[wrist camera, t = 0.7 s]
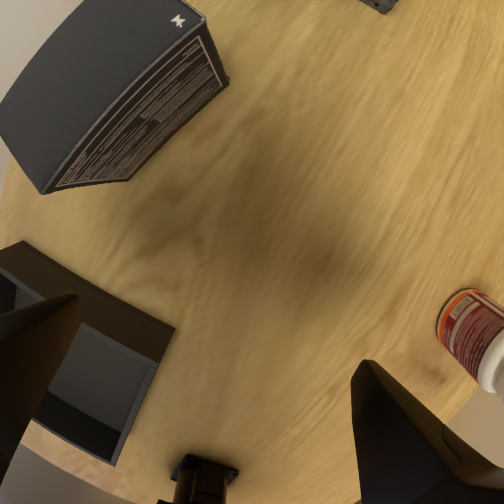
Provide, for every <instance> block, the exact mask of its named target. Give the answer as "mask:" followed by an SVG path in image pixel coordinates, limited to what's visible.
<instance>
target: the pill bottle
mask: <svg viewBox="0 0 504 504" xmlns="http://www.w3.org/2000/svg"><path fill="white" fill-rule="evenodd" d="M437 333H438V338H439V340H440V342H441V343H442V344H443V346H444V347H445V348H446V349H447V350H448V351H449V352H450V353H451V354H452V356H453V357H454V358H455V359H456V360H457V361H458V362H459V363H460V364H461V365H462V367H463V368H464V369H465V370H466V371H467V372H468V373H469V374H470V375H471V377H473V379H474V380H475V381H476V382H477V383H478V384H479V385H480V386H481V387H482V388H483V389H484V390H485V391H487V392H489V393H497V396H498V397H499V398H500V399H501V400H502V401H503V402H504V307H503V306H501V305H500V304H498V303H497V302H495V301H494V300H492V299H491V298H489V297H488V296H486V295H485V294H483V293H481V292H480V291H478V290H475V289H467V290H464V291H461V292H459V293H457V294H456V295H455V296H454V297H453V298H452V299H451V300H450V301H449V302H448V303H447V304H446V306H445V307H444V309H443V311H442V313H441V315H440V318H439V321H438V326H437Z"/></svg>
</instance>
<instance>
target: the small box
mask: <svg viewBox="0 0 504 504" xmlns="http://www.w3.org/2000/svg"><path fill="white" fill-rule="evenodd" d="M228 85H229V77H228V76H227V75H226V73H225V71H224V68H223V65H222V62H221V60H220V57H219V55H218V53H217V50H216V47H215V45H214V42H213V40H212V38H211V35H210V32H209V30H208V28H207V21H206V18H205V16H204V15H203V14H201V13H200V12H198V11H197V10H196V9H194V8H193V7H192V6H190V5H189V4H188V3H187V2H185V1H184V0H84V1H83V2H82V3H81V4H80V5H79V6H78V7H77V8H76V9H75V10H74V11H73V12H72V13H71V14H70V15H69V16H68V17H67V18H66V19H65V20H64V21H63V22H62V24H61V25H60V26H59V27H58V28H57V29H56V30H55V31H54V32H53V33H52V35H51V36H50V37H49V38H48V39H47V40H46V42H45V43H44V44H43V45H42V46H41V48H40V49H39V50H38V51H37V53H36V54H35V55H34V56H33V58H32V59H31V60H30V62H29V63H28V64H27V65H26V67H25V68H24V70H23V71H22V72H21V74H20V75H19V76H18V78H17V79H16V81H15V82H14V84H13V85H12V87H11V88H10V89H9V91H8V92H7V94H6V96H5V97H4V98H3V100H2V102H1V103H0V136H1V138H2V139H3V141H4V142H5V144H6V145H7V147H8V148H9V150H10V152H11V153H12V155H13V156H14V158H15V159H16V161H17V162H18V164H19V165H20V167H21V168H22V170H23V171H24V172H25V174H26V175H27V177H28V178H29V179H30V181H31V182H32V184H33V185H34V186H35V188H36V189H37V190H38V192H39V193H40V194H41V195H45V194H50V193H53V192H55V191H60V190H64V189H69V188H75V187H81V186H83V187H84V186H89V185H96V184H105V183H112V182H123V181H124V182H127V181H128V180H129V179H130V178H131V177H132V176H133V175H134V174H135V173H136V172H137V171H138V170H139V169H140V167H141V166H142V165H143V164H144V163H145V162H146V161H147V160H148V159H149V158H150V157H151V156H152V155H153V154H154V153H155V152H156V151H157V150H159V148H160V147H161V146H162V145H163V144H164V143H165V142H166V141H167V140H168V139H169V138H170V137H171V136H172V135H173V134H174V133H175V132H176V131H177V130H179V128H180V127H181V126H183V125H184V124H185V123H186V122H187V121H188V120H189V119H190V118H191V117H192V116H193V115H195V114H196V113H197V112H198V111H199V110H200V109H201V108H202V107H203V106H204V105H206V104H207V103H208V102H209V101H210V100H211V99H212V98H213V97H215V96H216V95H217V94H218V93H219V92H220V91H221V90H223V89H224V88H225V87H226V86H228Z"/></svg>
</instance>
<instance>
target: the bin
mask: <svg viewBox="0 0 504 504" xmlns="http://www.w3.org/2000/svg"><path fill="white" fill-rule="evenodd" d="M69 291H70V292H73V293H76V294H79V295H80V296H81V302H82V322H81V324H80V326H79V328H78V330H77V333H76V335H75V337H74V339H73V341H72V343H71V346H70V348H69V350H68V352H67V354H66V356H65V359H64V360H63V362H62V364H61V366H60V368H59V369H58V371H57V373H56V374H55V376H54V378H53V380H52V381H51V383H50V385H49V387H48V389H47V390H46V392H45V394H44V396H43V398H42V399H41V401H40V403H39V405H38V407H37V409H36V411H35V413H34V414H33V416H32V418H31V419H32V420H33V421H34V422H36V423H37V424H39V425H40V426H42V427H43V428H45V429H47V430H48V431H50V432H51V433H53V434H54V435H56V436H58V437H59V438H61V439H63V440H64V441H66V442H68V443H70V444H71V445H73V446H75V447H77V448H78V449H80V450H82V451H84V452H86V453H88V454H89V455H91V456H93V457H95V458H97V459H99V460H101V461H103V462H105V463H107V464H109V465H111V466H114V467H115V465H116V463H117V460H118V458H119V456H120V453H121V451H122V448H123V446H124V444H125V441H126V439H127V437H128V434H129V432H130V430H131V427H132V425H133V423H134V420H135V418H136V416H137V413H138V411H139V409H140V406H141V404H142V402H143V400H144V397H145V395H146V393H147V390H148V388H149V386H150V384H151V382H152V379H153V377H154V375H155V373H156V370H157V368H158V366H159V364H160V362H161V359H162V357H163V355H164V353H165V350H166V348H167V346H168V344H169V342H170V339H171V337H172V335H173V333H174V331H175V328H173V327H171V326H169V325H167V324H165V323H163V322H161V321H159V320H157V319H155V318H153V317H151V316H149V315H147V314H145V313H144V312H142V311H140V310H138V309H136V308H134V307H132V306H130V305H128V304H127V303H125V302H123V301H121V300H119V299H117V298H116V297H114V296H112V295H110V294H108V293H107V292H105V291H103V290H101V289H100V288H98V287H96V286H94V285H93V284H91V283H89V282H88V281H86V280H84V279H82V278H81V277H79V276H77V275H76V274H74V273H72V272H71V271H69V270H68V269H66V268H64V267H63V266H61V265H59V264H58V263H56V262H55V261H53V260H52V259H50V258H48V257H47V256H45V255H44V254H42V253H41V252H39V251H38V250H36V249H35V248H33V247H32V246H30V245H29V244H27V243H26V242H24V241H21V242H19V243H16V244H14V245H11V246H9V247H7V248H4V249H2V250H0V315H2V314H5V313H8V312H11V311H13V310H16V309H19V308H22V307H25V306H28V305H31V304H33V303H36V302H39V301H42V300H45V299H48V298H51V297H54V296H57V295H59V294H62V293H65V292H69Z"/></svg>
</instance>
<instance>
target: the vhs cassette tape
mask: <svg viewBox="0 0 504 504" xmlns="http://www.w3.org/2000/svg"><path fill="white" fill-rule="evenodd" d="M360 1H362V2H364V3H366V4H367V5H369V6H371V7H372V8H374V9H376V10H377V11H379V12H381V13H384V14H385V13H387V12H388V11H390V10H391V9H392V8H393V6H394V4H395V3H396V2H398V1H399V0H360Z"/></svg>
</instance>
